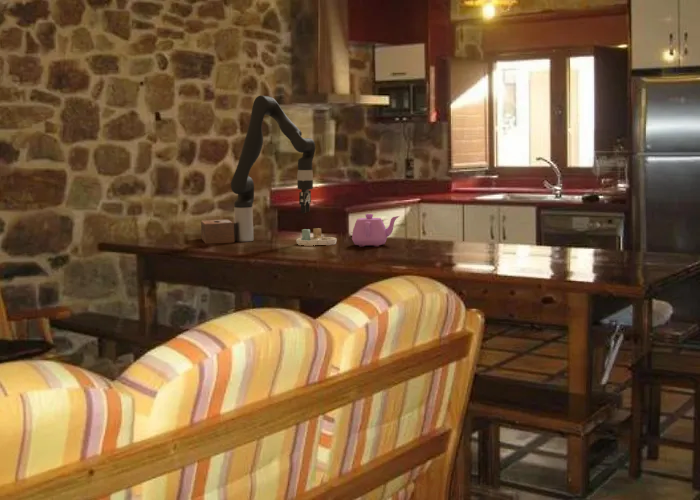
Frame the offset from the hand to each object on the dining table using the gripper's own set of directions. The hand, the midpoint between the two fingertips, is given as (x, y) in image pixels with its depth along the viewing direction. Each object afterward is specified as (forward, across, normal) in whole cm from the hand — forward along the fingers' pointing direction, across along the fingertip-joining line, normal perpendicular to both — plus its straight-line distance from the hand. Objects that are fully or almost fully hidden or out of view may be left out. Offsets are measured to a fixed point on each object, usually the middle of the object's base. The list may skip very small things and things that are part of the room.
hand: (305, 212), depth 458 cm
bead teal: (+14, 0, +1) cm, 14 cm away
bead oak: (+14, -5, +5) cm, 16 cm away
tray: (+15, 0, +6) cm, 16 cm away
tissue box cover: (+17, -15, -50) cm, 55 cm away
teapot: (+15, +6, +34) cm, 38 cm away
